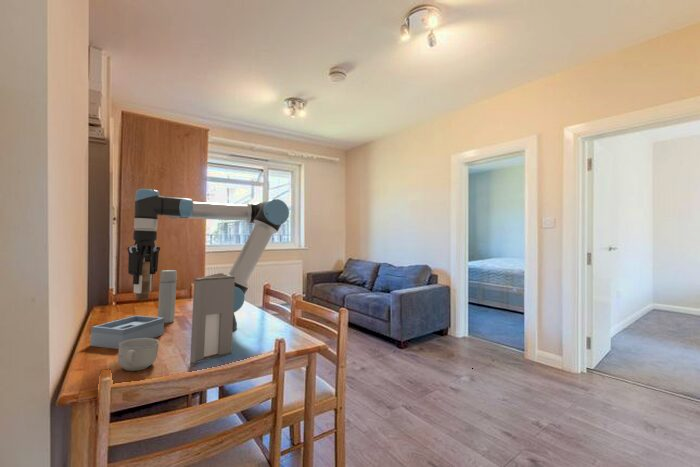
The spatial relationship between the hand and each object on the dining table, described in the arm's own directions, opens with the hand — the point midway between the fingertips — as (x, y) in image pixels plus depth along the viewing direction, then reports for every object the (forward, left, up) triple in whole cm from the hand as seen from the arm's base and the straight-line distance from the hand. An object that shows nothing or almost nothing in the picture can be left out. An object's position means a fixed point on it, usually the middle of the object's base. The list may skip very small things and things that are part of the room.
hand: (142, 291), depth 121 cm
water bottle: (+18, -34, -21) cm, 44 cm away
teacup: (-15, +18, -21) cm, 31 cm away
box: (+11, -6, -21) cm, 24 cm away
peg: (0, 0, -3) cm, 3 cm away
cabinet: (-31, -2, -21) cm, 38 cm away
